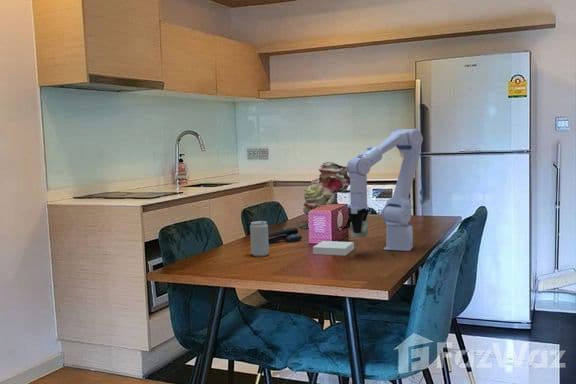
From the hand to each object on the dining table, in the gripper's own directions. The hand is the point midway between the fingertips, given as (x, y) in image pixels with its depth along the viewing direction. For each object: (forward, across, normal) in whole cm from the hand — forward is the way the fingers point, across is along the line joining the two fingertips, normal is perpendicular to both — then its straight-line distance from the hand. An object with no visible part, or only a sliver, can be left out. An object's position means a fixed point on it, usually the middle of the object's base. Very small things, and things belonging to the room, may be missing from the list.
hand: (359, 231), depth 194 cm
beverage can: (+9, +7, -35) cm, 36 cm away
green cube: (+2, 0, 0) cm, 2 cm away
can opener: (+9, -18, -36) cm, 41 cm away
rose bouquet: (+9, -60, -29) cm, 67 cm away
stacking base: (+8, -5, -11) cm, 14 cm away
